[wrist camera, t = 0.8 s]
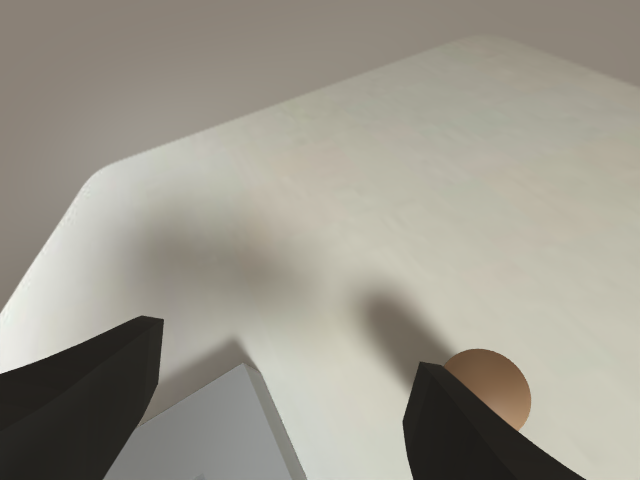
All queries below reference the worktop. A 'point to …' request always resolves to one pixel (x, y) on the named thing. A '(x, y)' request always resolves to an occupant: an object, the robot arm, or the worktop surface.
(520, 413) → the dowel
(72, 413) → the robot arm
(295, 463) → the socket block
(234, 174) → the worktop surface
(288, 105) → the worktop surface
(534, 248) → the worktop surface
